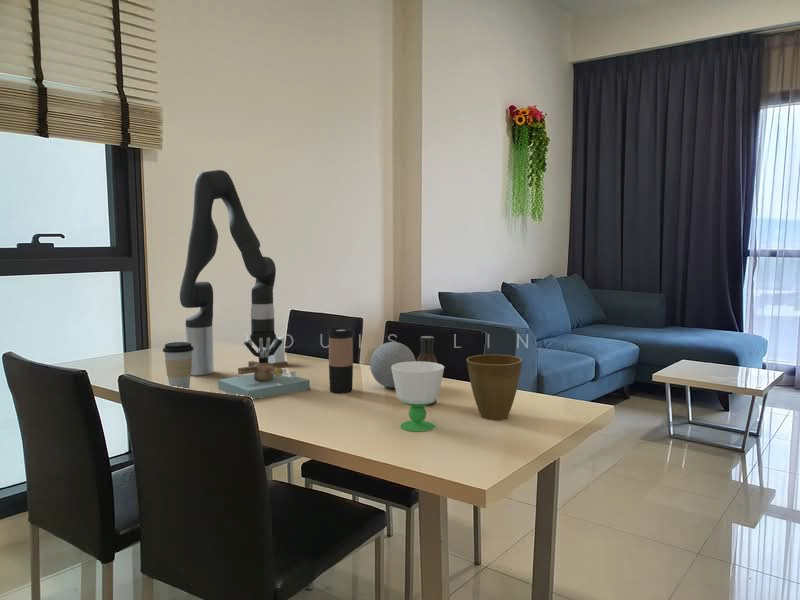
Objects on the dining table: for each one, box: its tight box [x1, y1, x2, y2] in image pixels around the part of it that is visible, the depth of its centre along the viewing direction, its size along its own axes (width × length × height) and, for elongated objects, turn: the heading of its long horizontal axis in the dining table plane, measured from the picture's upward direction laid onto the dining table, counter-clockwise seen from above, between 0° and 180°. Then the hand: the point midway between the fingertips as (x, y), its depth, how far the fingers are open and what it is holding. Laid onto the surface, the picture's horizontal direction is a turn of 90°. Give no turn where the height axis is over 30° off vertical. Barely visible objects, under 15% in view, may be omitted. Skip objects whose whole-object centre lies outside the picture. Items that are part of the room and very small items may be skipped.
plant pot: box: [466, 354, 523, 421], centre depth 169 cm, size 15×15×16 cm
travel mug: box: [328, 327, 354, 395], centre depth 197 cm, size 8×8×20 cm
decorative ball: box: [369, 341, 416, 389], centre depth 203 cm, size 15×15×15 cm
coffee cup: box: [162, 341, 194, 389], centre depth 199 cm, size 9×9×15 cm
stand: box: [217, 368, 311, 400], centre depth 200 cm, size 21×22×5 cm
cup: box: [391, 360, 445, 433], centre depth 159 cm, size 14×14×16 cm
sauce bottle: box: [416, 335, 439, 406], centre depth 182 cm, size 6×6×20 cm
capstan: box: [237, 360, 289, 381], centre depth 199 cm, size 19×17×5 cm
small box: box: [268, 336, 286, 363], centre depth 241 cm, size 8×6×10 cm
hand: (263, 368), depth 207 cm, fingers closed
